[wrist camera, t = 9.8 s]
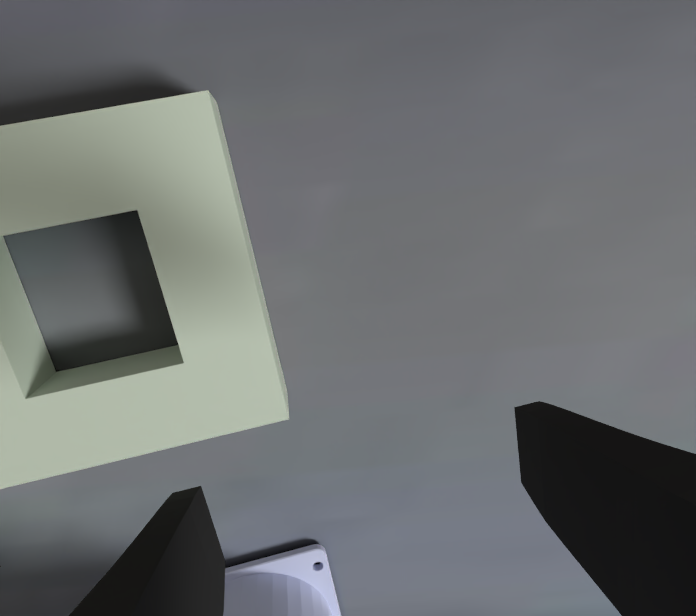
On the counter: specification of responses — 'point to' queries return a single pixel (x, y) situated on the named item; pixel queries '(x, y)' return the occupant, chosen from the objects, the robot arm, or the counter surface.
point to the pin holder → (174, 277)
